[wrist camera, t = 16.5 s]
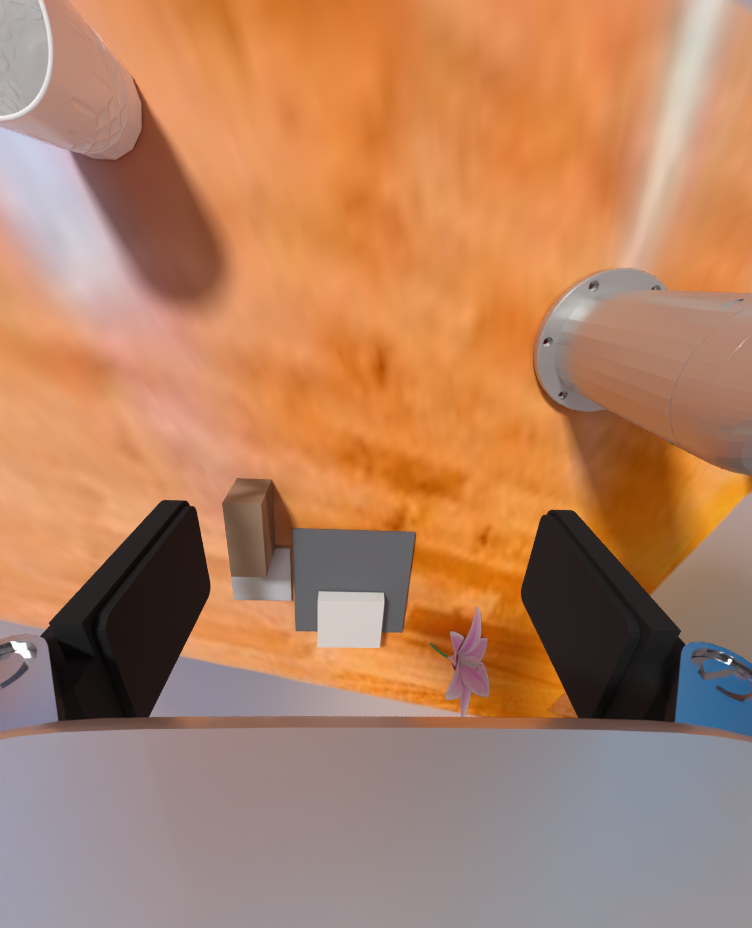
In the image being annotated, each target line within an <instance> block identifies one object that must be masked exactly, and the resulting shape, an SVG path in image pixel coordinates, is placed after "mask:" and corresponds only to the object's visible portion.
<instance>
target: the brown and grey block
mask: <svg viewBox="0 0 752 928" xmlns="http://www.w3.org/2000/svg"><path fill="white" fill-rule="evenodd" d="M222 505H223V513H224V521H225V530H226V538H227V546H228V554H229V562H230V570H231V578H232V586H233V595H234V600H281V601H291V600H292V584H291V556H290V547H279V546H275V530H274V512H273V494H272V480H265V479H240V478H237V480H236V481H235V483H234V484H233V486H232V488H231V489H230V491H229V493H228V494H227V496H226V498H225V499H224V501H223V503H222Z"/></svg>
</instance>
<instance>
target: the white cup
mask: <svg viewBox="0 0 752 928" xmlns="http://www.w3.org/2000/svg"><path fill="white" fill-rule="evenodd" d="M0 127H2V128H5V129H8V130H11V131H13V132H16V133H19V134H21V135H24V136H27V137H30V138H32V139H35V140H38V141H40V142H43V143H47V144H50V145H53V146H56V147H59V148H62V149H65V150H69V151H73V152H77V153H80V154H83V155H86V156H88V157H91V158H93V159H110V160H116V159H118V158H120V157H121V156H123V155H124V154H126V153H128V152H129V151H131V150H132V149H133V148H134V145H135V143H136V141H137V139H138V137H139V134H140V132H141V130H142V105H141V100H140V98H139V95H138V92H137V89H136V87H135V84H134V81H133V79H132V76H131V74H130V73H129V71H128V70H127V69H126V68H125V66H124V65H123V64H122V62H121V61H120V60H119V59H118V57H117V56H116V55H115V54H114V52H113V51H112V50H111V49H110V48H109V47H108V46H107V45H106V44H105V43H104V42H103V40H102V39H101V37H100V36H99V35H98V34H97V32H96V31H95V30H94V29H93V28H92V27H91V26H90V25H89V24H88V23H87V21H86V20H85V19H84V18H83V17H82V16H81V15H80V14H79V12H78V11H77V10H76V9H75V8H74V7H73V6H72V5H71V4H70V3H69V2H68V1H67V0H0Z"/></svg>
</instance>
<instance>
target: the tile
mask: <svg viewBox="0 0 752 928" xmlns="http://www.w3.org/2000/svg"><path fill="white" fill-rule="evenodd" d="M383 611H384V593H375V592H326V591H319V594H318V647H356V648H380V641H381V631H382V621H383Z"/></svg>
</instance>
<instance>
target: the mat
mask: <svg viewBox="0 0 752 928" xmlns="http://www.w3.org/2000/svg"><path fill="white" fill-rule="evenodd" d="M292 534H293V564H294V593H295V623H296V631H318V594H319V591H326V592H375V593H384V611H383V621H382V631H381V632H399V633H402V629H403V622H404V614H405V607H406V599H407V592H408V585H409V577H410V570H411V562H412V555H413V548H414V540H415V532H400V531H368V530H335V529H303V528H293V530H292Z"/></svg>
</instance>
